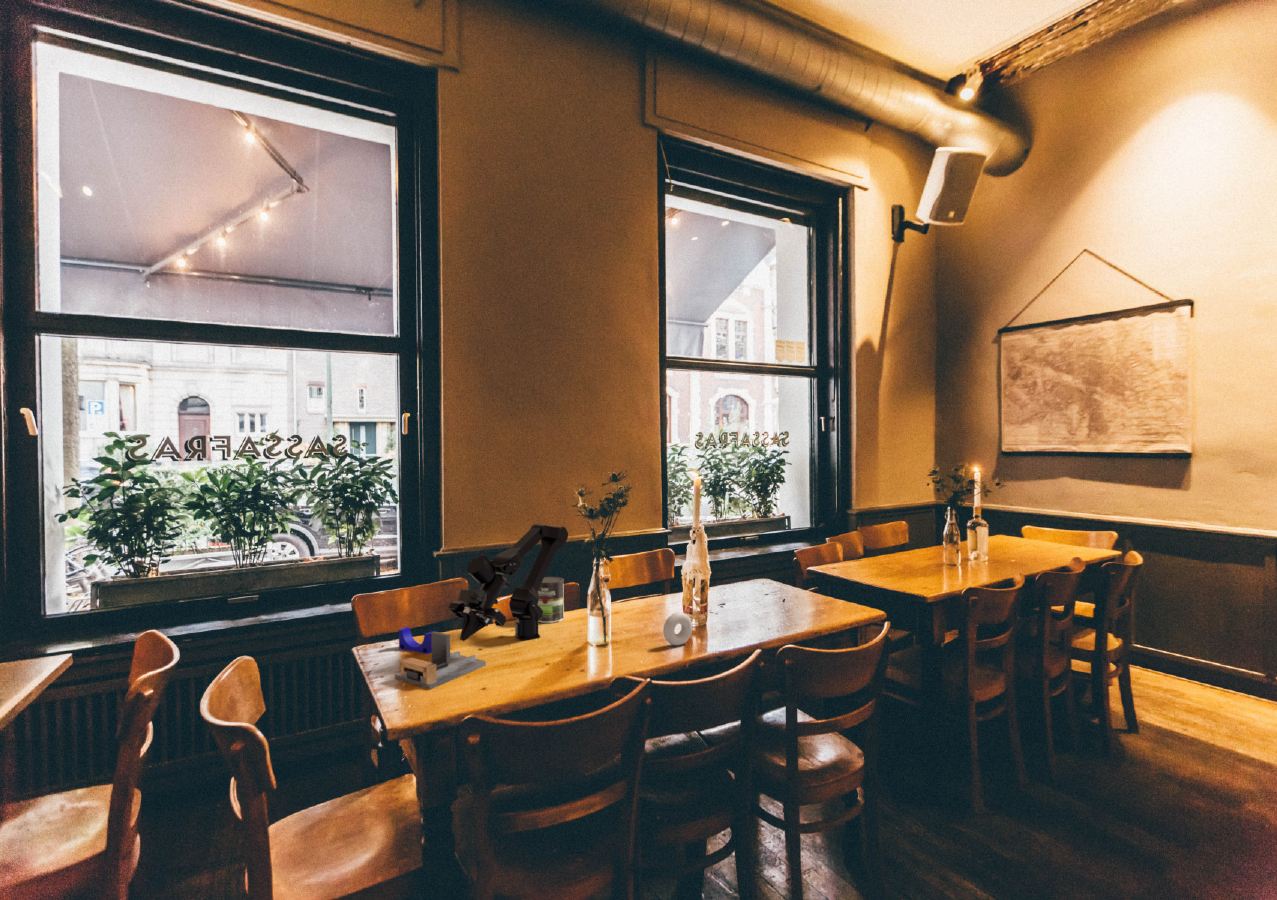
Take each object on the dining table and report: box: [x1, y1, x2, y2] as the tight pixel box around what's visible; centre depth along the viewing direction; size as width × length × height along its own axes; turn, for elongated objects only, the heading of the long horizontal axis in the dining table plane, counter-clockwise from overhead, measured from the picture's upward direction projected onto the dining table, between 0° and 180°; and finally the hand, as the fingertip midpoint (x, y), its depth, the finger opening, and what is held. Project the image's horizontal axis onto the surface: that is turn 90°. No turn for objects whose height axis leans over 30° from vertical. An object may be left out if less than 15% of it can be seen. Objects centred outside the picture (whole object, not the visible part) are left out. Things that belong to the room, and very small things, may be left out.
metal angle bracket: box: [406, 631, 451, 680], centre depth 159 cm, size 10×6×9 cm, turn 149°
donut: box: [662, 611, 693, 646], centre depth 181 cm, size 10×4×10 cm, turn 120°
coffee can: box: [537, 576, 565, 624], centre depth 211 cm, size 10×10×14 cm
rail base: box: [394, 650, 487, 690], centre depth 163 cm, size 19×14×5 cm
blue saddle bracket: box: [398, 626, 435, 655], centre depth 182 cm, size 12×4×6 cm, turn 64°
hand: (461, 640), depth 169 cm, fingers closed
